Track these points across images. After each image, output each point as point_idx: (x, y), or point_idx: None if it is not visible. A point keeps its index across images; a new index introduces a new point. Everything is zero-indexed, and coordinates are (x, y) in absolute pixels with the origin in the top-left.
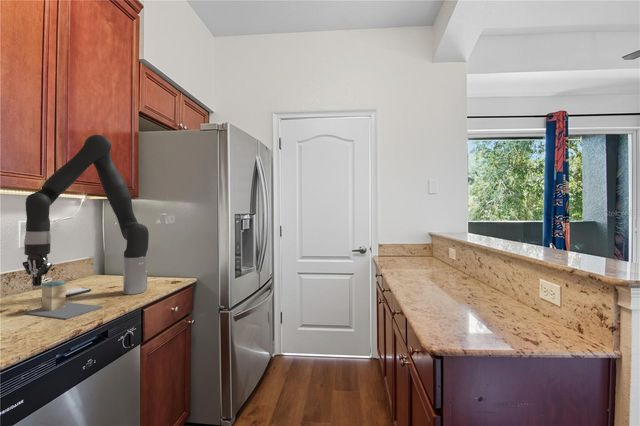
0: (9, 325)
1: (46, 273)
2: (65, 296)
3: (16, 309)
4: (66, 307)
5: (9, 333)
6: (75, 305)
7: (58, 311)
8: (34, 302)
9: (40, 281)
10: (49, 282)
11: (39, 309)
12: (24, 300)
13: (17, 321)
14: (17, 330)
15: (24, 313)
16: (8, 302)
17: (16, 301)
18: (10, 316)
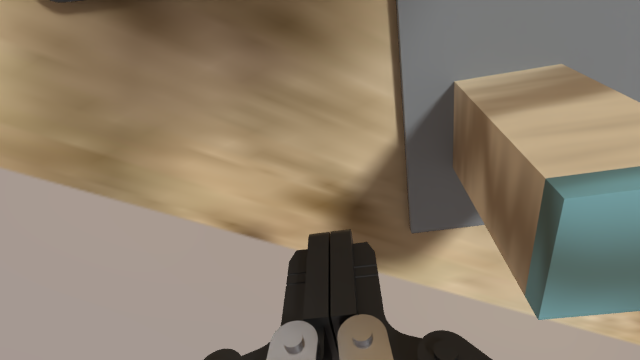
0: None
1: (472, 348)
2: (619, 93)
3: (279, 209)
4: (591, 72)
5: (632, 334)
6: (624, 4)
7: None
8: (176, 93)
9: (377, 275)
10: (568, 273)
11: (441, 174)
12: (48, 100)
13: (515, 279)
14: (634, 316)
15: (423, 228)
16: (42, 168)
17: (45, 136)
18: (397, 264)
